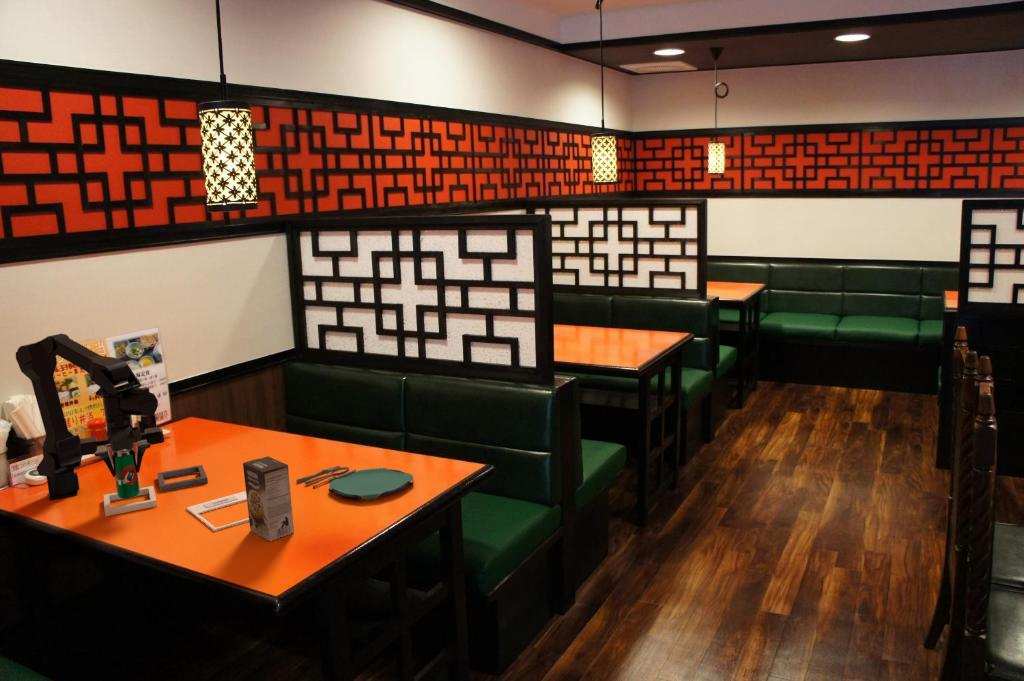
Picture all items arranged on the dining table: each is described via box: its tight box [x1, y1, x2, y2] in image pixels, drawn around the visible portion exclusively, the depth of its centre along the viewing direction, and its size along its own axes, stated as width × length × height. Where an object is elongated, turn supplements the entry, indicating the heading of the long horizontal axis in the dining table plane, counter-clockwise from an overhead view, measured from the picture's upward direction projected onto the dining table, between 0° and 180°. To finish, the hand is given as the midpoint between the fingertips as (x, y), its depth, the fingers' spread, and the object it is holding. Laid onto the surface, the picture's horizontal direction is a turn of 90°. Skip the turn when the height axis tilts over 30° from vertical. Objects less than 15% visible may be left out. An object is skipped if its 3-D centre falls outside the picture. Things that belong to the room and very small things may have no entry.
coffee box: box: [242, 456, 295, 542], centre depth 182 cm, size 9×6×16 cm
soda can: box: [111, 447, 141, 500], centre depth 202 cm, size 5×5×12 cm
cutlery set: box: [295, 465, 414, 501], centre depth 211 cm, size 20×30×2 cm, turn 53°
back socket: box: [156, 464, 209, 493], centre depth 218 cm, size 11×11×2 cm
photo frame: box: [185, 490, 249, 532], centre depth 196 cm, size 15×1×18 cm
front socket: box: [103, 485, 158, 517], centre depth 204 cm, size 11×11×2 cm
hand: (126, 474), depth 203 cm, fingers closed on soda can, 5 cm apart
